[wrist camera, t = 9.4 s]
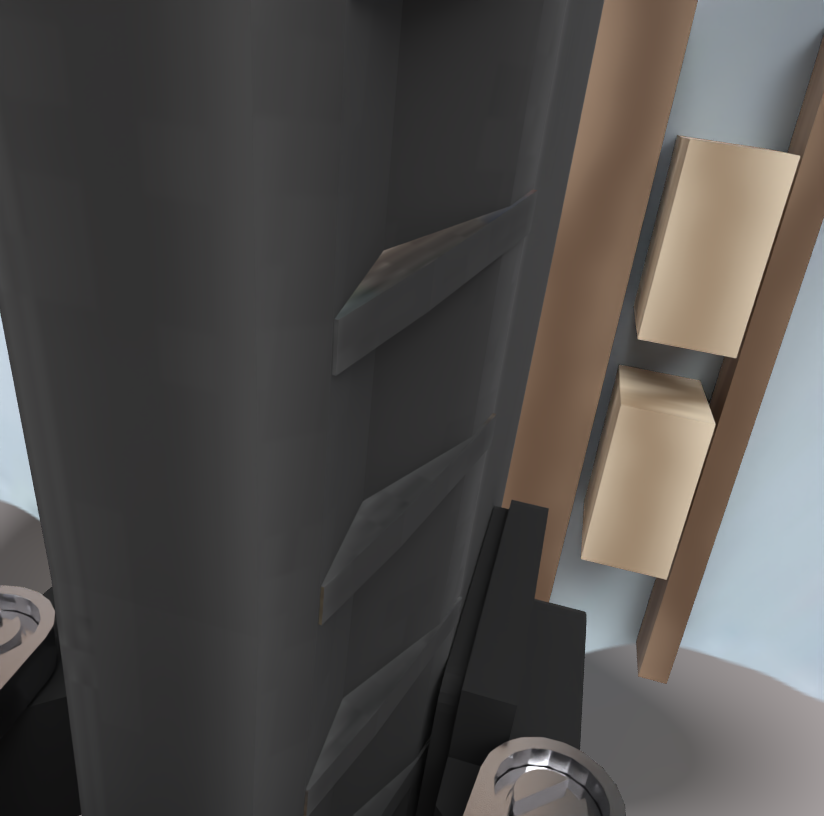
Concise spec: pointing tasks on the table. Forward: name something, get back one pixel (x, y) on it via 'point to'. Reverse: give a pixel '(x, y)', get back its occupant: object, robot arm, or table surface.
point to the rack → (605, 290)
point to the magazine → (273, 367)
